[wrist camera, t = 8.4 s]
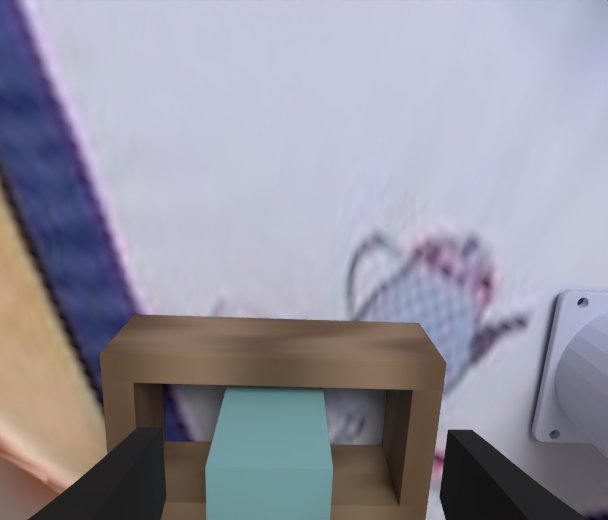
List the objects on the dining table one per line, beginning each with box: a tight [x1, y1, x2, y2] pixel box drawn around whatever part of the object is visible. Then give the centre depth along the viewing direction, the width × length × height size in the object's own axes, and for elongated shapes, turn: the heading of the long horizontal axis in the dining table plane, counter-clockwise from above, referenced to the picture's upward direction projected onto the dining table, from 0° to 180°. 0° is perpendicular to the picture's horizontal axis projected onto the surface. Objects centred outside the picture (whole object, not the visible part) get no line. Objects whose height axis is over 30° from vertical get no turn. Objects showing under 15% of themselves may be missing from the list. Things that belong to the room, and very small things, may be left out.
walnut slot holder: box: [100, 315, 446, 520], centre depth 21 cm, size 13×8×4 cm, turn 88°
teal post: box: [205, 385, 333, 520], centre depth 19 cm, size 4×4×8 cm
